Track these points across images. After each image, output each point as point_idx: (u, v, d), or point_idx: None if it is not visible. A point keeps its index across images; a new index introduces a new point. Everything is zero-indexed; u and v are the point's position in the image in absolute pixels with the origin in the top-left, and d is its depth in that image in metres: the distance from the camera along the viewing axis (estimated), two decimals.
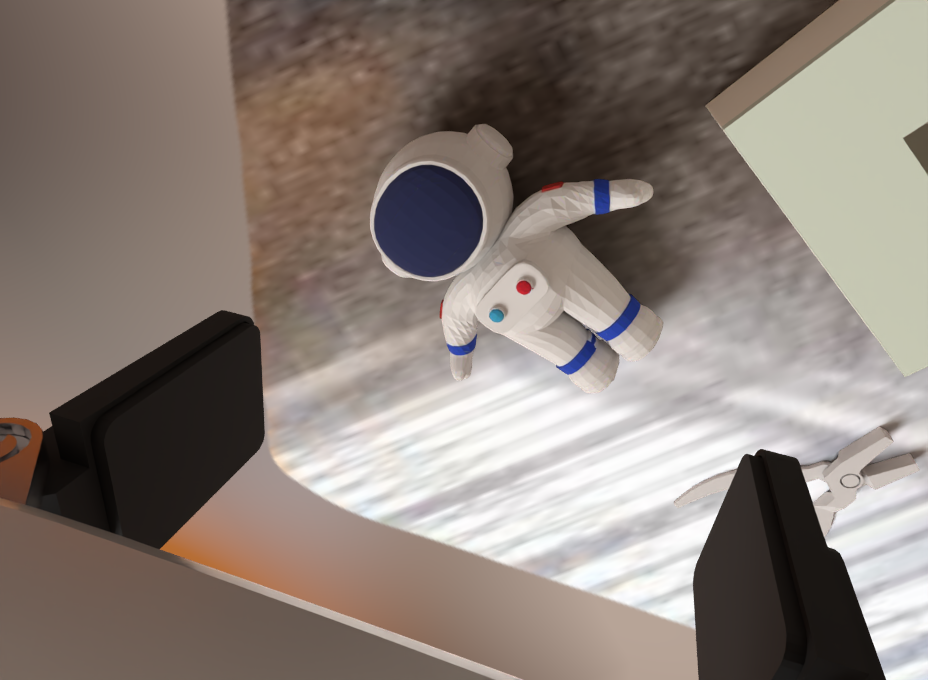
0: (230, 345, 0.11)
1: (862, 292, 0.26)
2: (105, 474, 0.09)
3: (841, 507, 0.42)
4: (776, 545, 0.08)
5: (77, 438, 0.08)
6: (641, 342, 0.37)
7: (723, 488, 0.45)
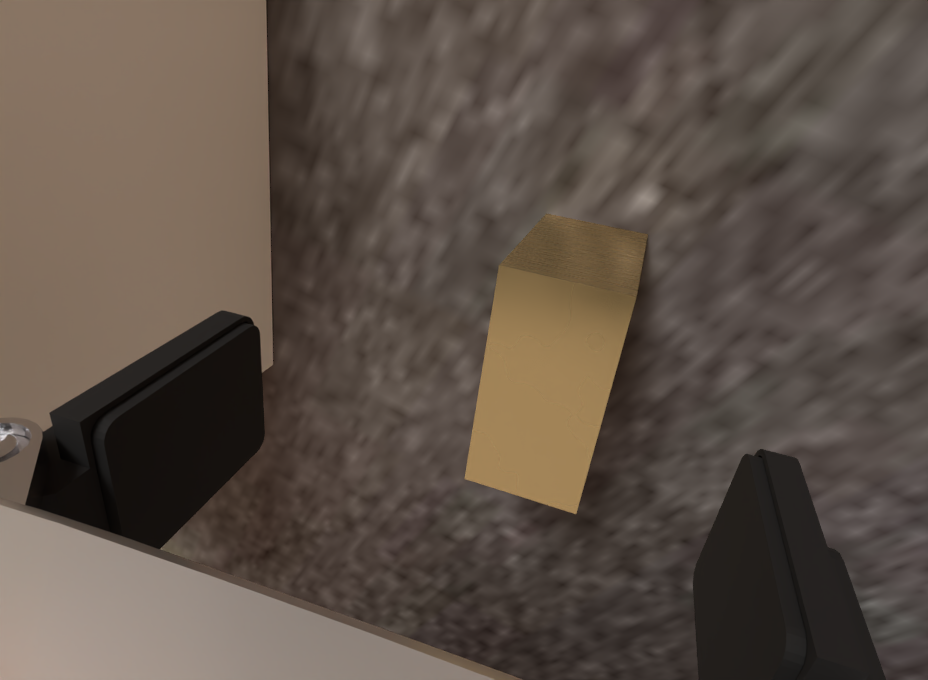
0: (230, 345, 0.11)
1: None
2: (105, 474, 0.09)
3: None
4: (776, 545, 0.08)
5: (77, 438, 0.08)
6: None
7: None
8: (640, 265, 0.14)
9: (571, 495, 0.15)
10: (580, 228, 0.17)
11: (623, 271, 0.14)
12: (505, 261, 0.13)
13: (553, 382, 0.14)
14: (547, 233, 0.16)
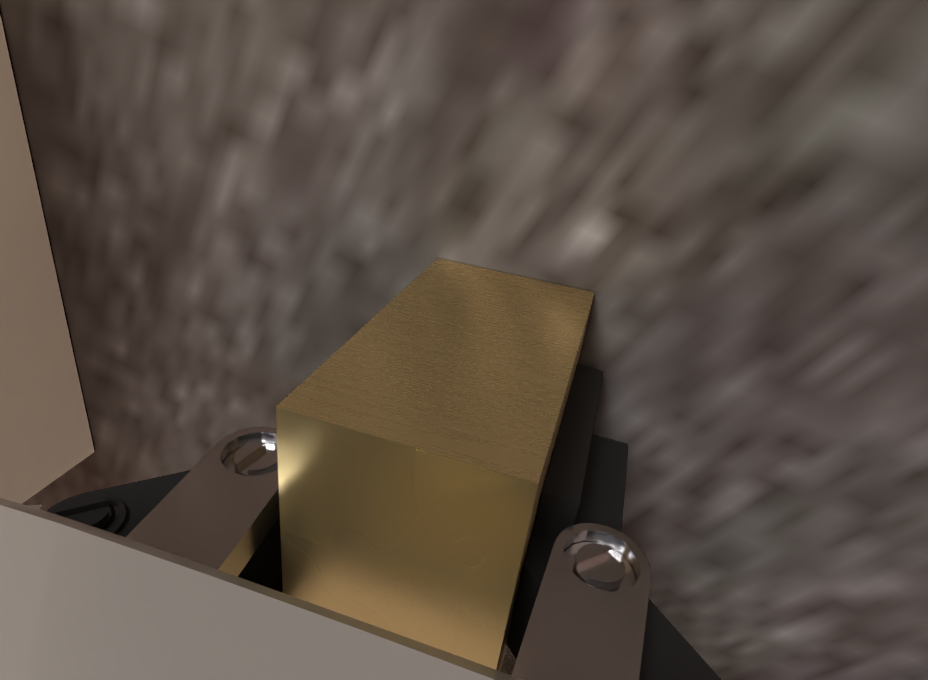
0: None
1: None
2: None
3: None
4: None
5: None
6: None
7: None
8: (566, 376, 0.08)
9: None
10: (482, 288, 0.10)
11: (529, 398, 0.07)
12: (296, 392, 0.07)
13: (402, 606, 0.07)
14: (418, 305, 0.09)
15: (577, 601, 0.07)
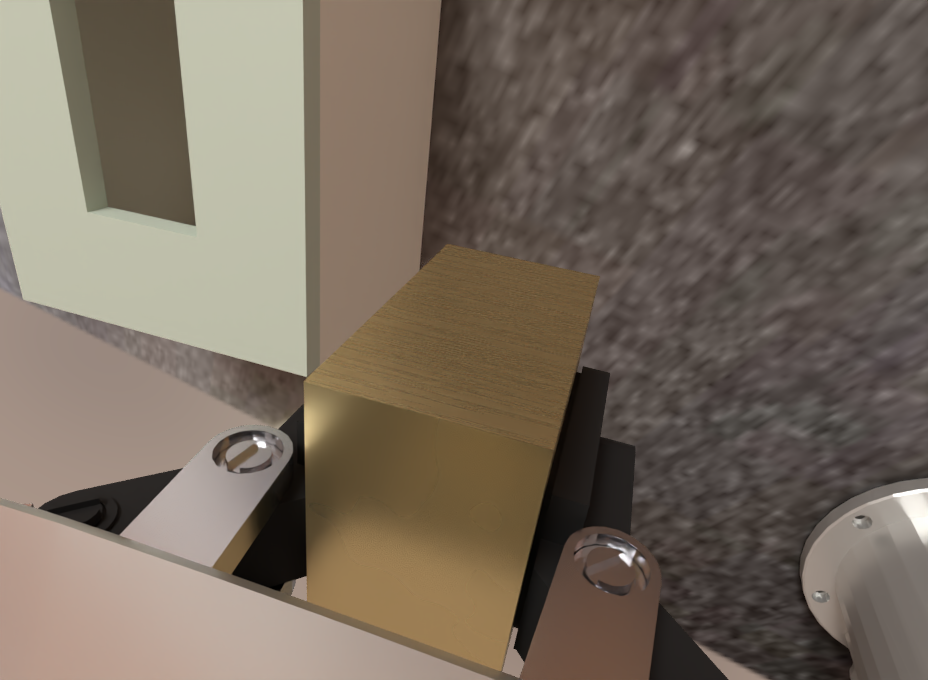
0: None
1: None
2: None
3: None
4: None
5: None
6: None
7: None
8: (576, 353, 0.08)
9: None
10: (492, 272, 0.11)
11: (541, 373, 0.08)
12: (322, 368, 0.07)
13: (421, 571, 0.08)
14: (432, 288, 0.10)
15: (586, 604, 0.07)
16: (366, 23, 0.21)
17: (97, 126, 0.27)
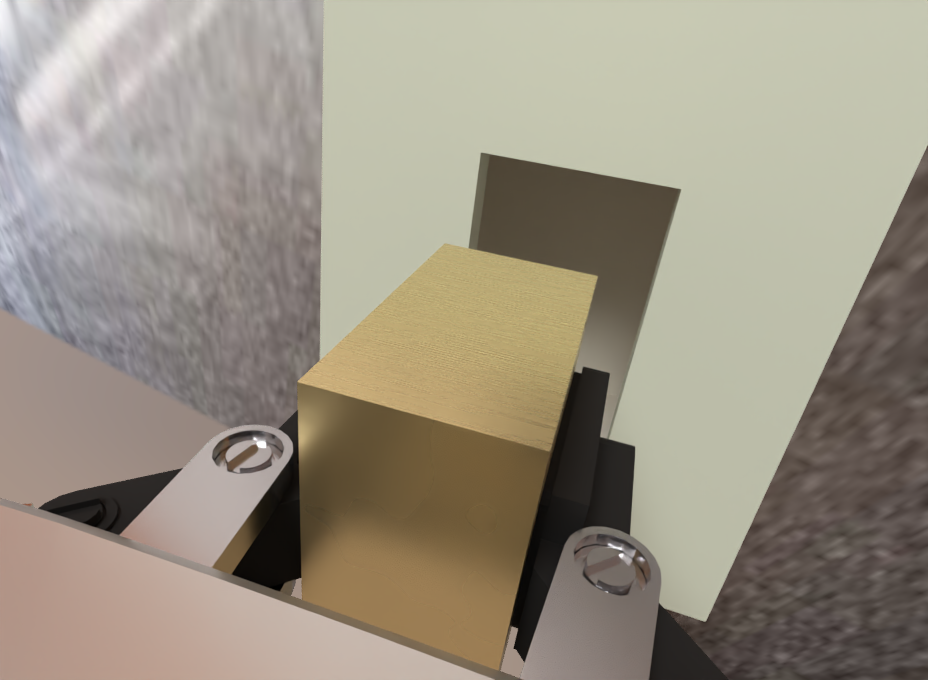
0: None
1: None
2: None
3: None
4: (560, 429, 0.09)
5: None
6: None
7: None
8: (573, 354, 0.08)
9: None
10: (489, 272, 0.11)
11: (538, 374, 0.08)
12: (316, 368, 0.07)
13: (417, 573, 0.08)
14: (428, 287, 0.10)
15: (586, 605, 0.07)
16: None
17: None
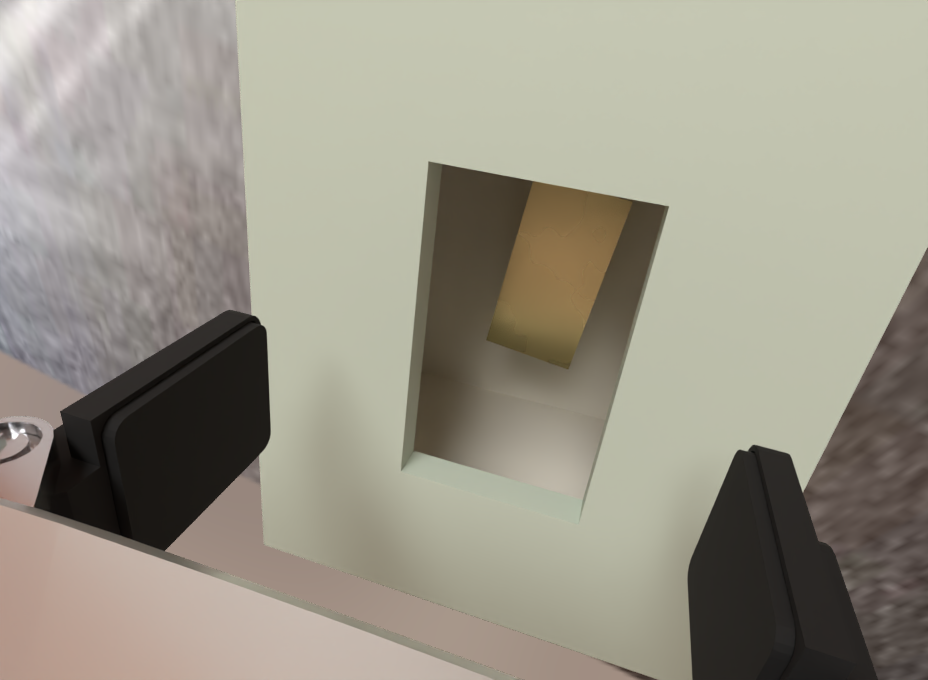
0: (238, 344, 0.11)
1: None
2: (115, 472, 0.09)
3: None
4: (767, 538, 0.08)
5: (88, 437, 0.08)
6: None
7: None
8: None
9: (566, 354, 0.20)
10: None
11: None
12: None
13: (564, 264, 0.19)
14: None
15: None
16: None
17: None
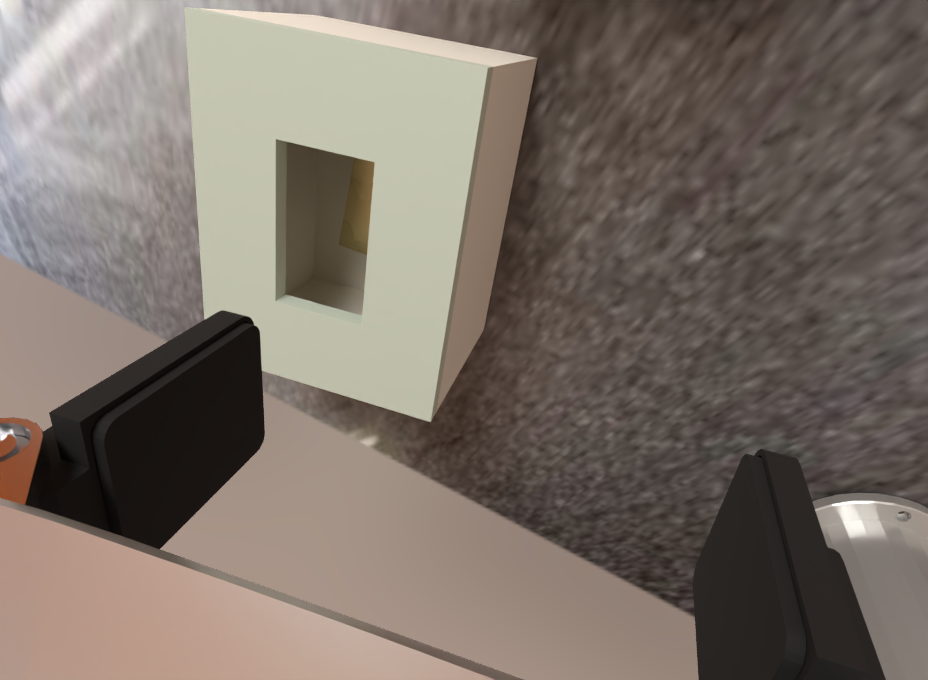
0: (230, 345, 0.11)
1: (278, 41, 0.26)
2: (105, 474, 0.09)
3: None
4: (775, 545, 0.08)
5: (77, 438, 0.08)
6: None
7: None
8: None
9: None
10: None
11: None
12: None
13: None
14: None
15: None
16: (488, 182, 0.30)
17: None
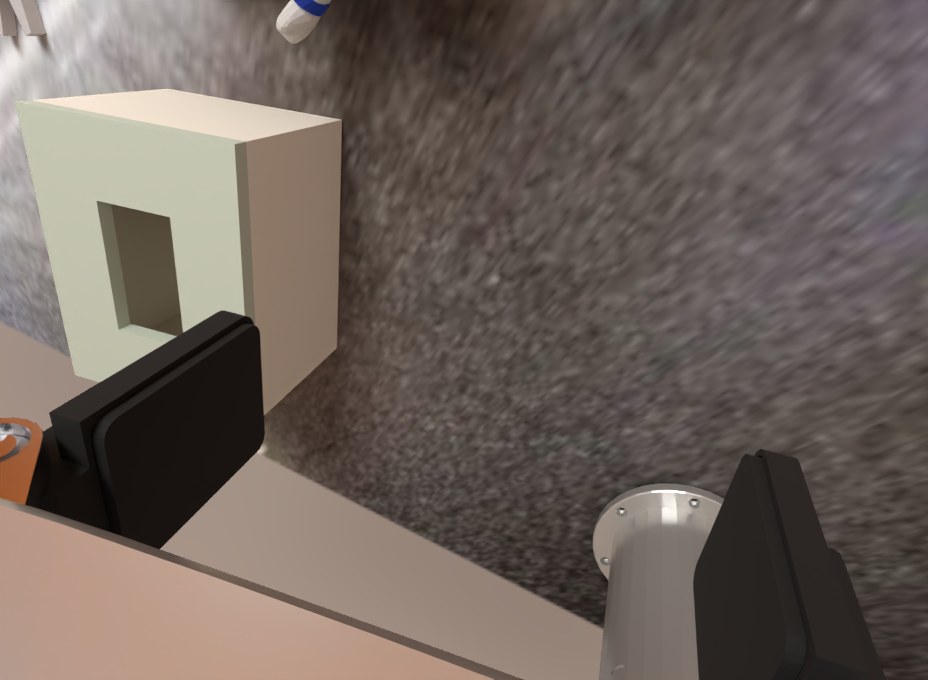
0: (230, 345, 0.11)
1: (85, 126, 0.33)
2: (105, 474, 0.09)
3: None
4: (776, 545, 0.08)
5: (77, 438, 0.08)
6: None
7: None
8: None
9: None
10: None
11: None
12: None
13: None
14: None
15: None
16: (282, 227, 0.37)
17: (120, 263, 0.42)
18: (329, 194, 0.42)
